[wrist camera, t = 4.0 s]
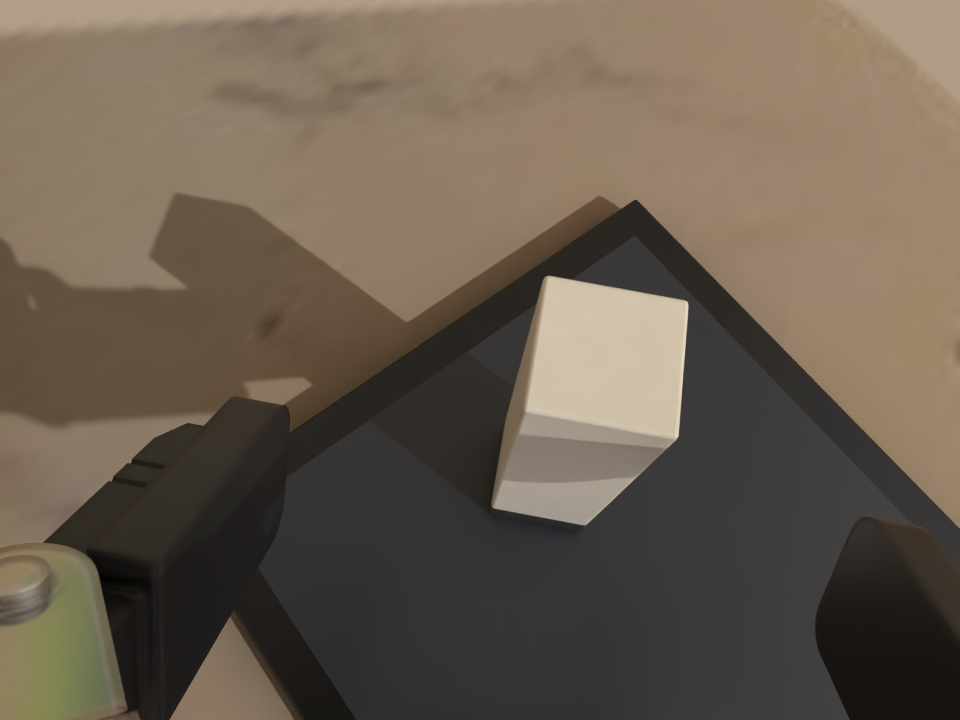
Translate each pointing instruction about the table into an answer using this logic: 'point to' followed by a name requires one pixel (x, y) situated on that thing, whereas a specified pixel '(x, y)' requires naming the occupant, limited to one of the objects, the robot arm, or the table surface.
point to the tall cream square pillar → (589, 401)
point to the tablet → (568, 553)
